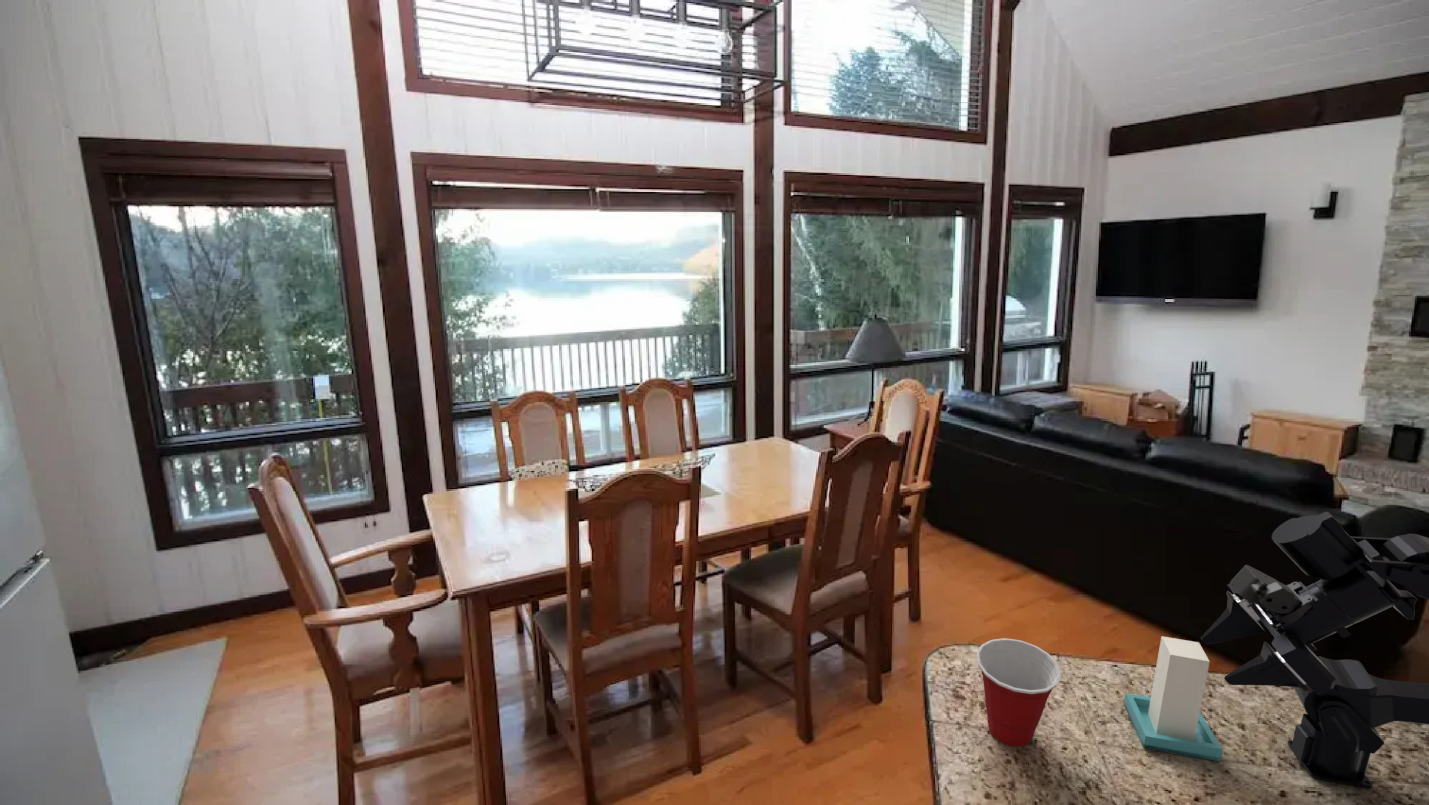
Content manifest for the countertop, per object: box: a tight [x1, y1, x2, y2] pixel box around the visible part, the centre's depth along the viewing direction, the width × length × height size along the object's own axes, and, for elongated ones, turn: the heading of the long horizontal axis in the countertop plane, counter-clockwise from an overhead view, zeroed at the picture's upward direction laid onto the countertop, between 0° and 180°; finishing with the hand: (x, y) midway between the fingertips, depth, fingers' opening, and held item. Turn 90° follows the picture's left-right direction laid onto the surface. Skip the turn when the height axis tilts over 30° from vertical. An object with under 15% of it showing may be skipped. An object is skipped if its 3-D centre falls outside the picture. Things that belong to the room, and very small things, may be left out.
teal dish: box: [1123, 692, 1223, 763], centre depth 93 cm, size 9×9×2 cm
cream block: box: [1148, 636, 1211, 741], centre depth 92 cm, size 4×4×13 cm
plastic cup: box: [976, 637, 1062, 748], centre depth 92 cm, size 11×11×12 cm
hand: (1214, 660), depth 89 cm, fingers open, 9 cm apart
